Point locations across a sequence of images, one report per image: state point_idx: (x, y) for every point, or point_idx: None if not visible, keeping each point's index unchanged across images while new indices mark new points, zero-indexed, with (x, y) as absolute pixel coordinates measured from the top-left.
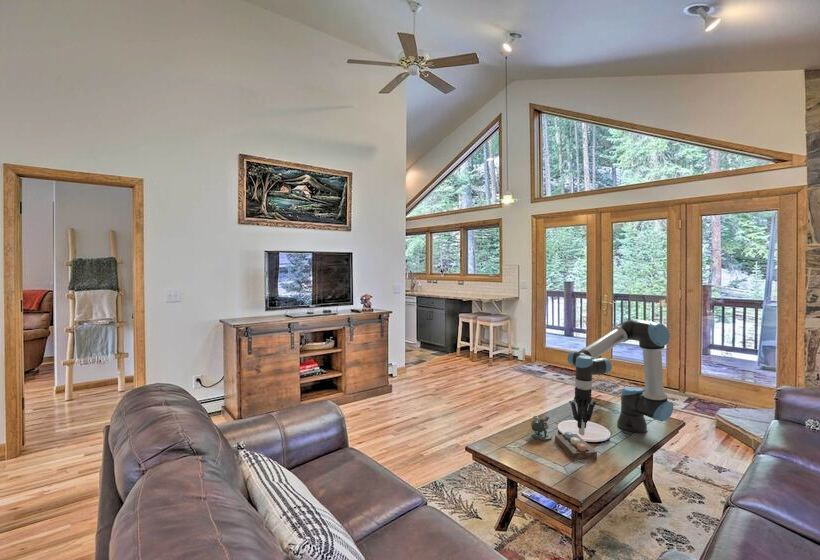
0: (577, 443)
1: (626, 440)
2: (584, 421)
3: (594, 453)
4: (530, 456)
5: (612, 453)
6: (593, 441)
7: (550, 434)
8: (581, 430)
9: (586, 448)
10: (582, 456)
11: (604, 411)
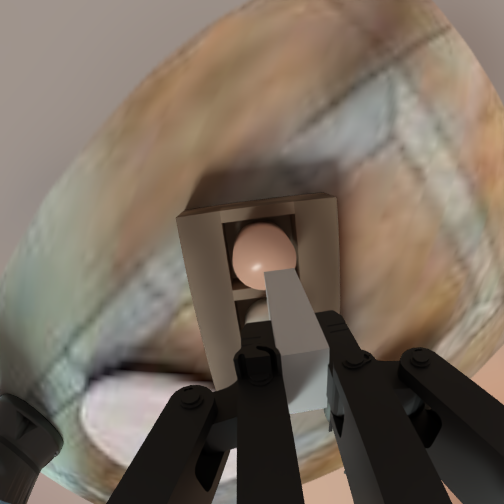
0: (267, 308)
1: (36, 366)
2: (278, 375)
3: (194, 213)
4: (475, 232)
5: (90, 272)
6: (147, 376)
7: (327, 411)
8: (304, 292)
9: (235, 243)
10: (273, 201)
11: (94, 486)
